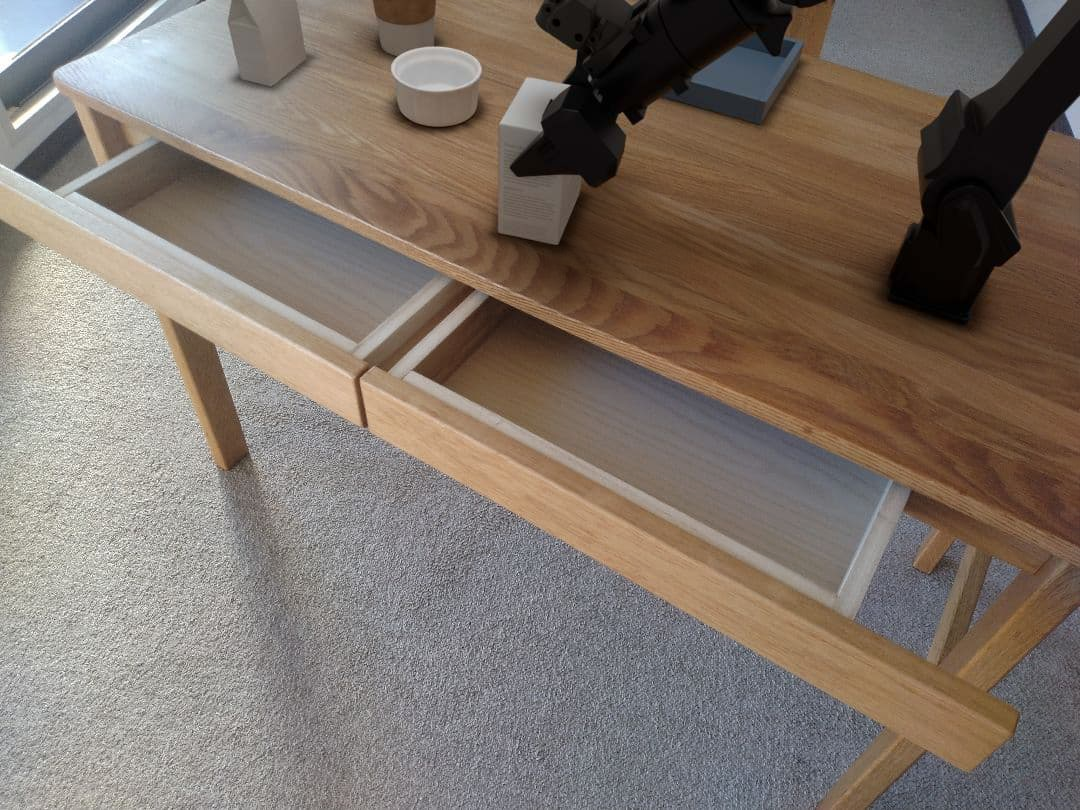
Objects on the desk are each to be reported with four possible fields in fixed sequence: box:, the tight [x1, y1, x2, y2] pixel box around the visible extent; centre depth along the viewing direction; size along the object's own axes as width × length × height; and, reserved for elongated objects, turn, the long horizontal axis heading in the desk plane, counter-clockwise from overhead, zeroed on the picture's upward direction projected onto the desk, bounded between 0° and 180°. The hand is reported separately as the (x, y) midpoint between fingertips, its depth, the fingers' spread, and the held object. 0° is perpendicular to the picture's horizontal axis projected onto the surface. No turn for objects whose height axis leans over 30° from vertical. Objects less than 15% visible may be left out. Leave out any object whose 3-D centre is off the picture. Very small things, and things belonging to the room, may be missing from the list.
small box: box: [497, 76, 582, 246], centre depth 70 cm, size 8×6×10 cm
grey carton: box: [227, 0, 307, 87], centre depth 85 cm, size 4×7×10 cm, turn 159°
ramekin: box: [390, 46, 483, 128], centre depth 84 cm, size 9×9×4 cm
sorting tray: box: [661, 34, 806, 125], centre depth 92 cm, size 16×16×2 cm
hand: (527, 144), depth 69 cm, fingers closed on small box, 8 cm apart
